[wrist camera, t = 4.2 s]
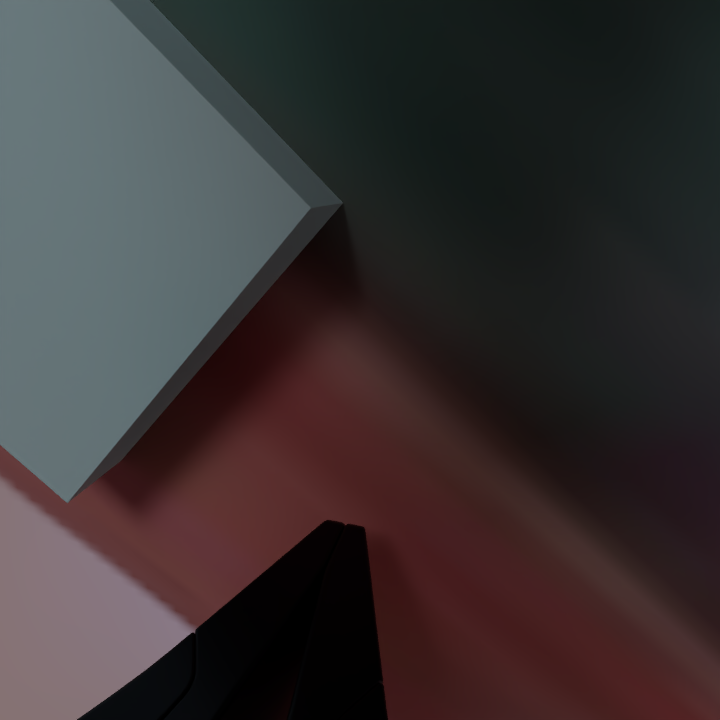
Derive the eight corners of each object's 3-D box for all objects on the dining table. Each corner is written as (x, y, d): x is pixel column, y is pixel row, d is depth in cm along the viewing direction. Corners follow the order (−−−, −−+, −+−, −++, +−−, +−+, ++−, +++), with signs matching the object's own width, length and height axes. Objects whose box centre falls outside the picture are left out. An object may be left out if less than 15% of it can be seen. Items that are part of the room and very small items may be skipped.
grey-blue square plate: (349, 202, 8) (310, 207, 6) (133, 450, 12) (67, 503, 10) (-75, -244, 7) (-280, -402, 5) (-166, 180, 11) (-305, 179, 9)
